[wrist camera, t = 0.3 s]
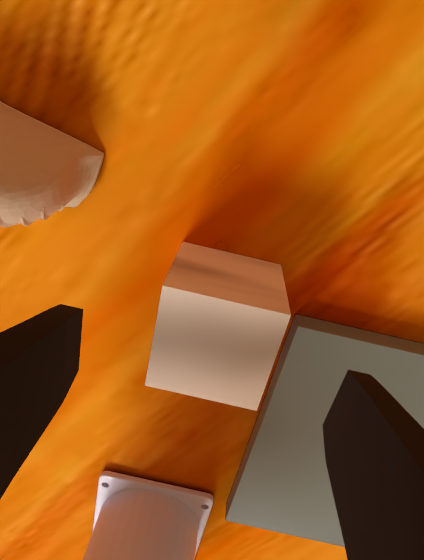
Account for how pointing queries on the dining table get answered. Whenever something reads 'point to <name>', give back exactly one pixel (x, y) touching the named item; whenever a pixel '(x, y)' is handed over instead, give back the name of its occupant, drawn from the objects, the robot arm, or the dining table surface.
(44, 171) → the decorative ornament
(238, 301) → the cream cube
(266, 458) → the board
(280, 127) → the dining table surface
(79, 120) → the dining table surface
